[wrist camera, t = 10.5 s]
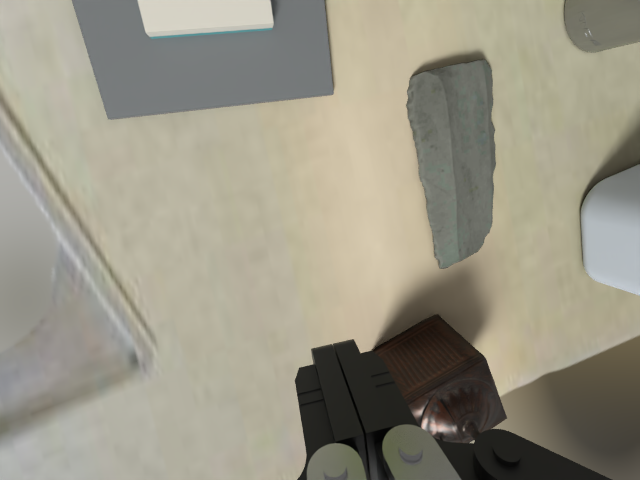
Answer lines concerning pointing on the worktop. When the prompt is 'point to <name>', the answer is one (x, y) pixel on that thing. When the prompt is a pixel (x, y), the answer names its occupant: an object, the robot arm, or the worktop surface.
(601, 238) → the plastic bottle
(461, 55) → the worktop surface
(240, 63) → the rubber mat
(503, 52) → the worktop surface
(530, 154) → the worktop surface
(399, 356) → the brown coffee grinder
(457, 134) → the stone slab
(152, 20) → the glazed tile
